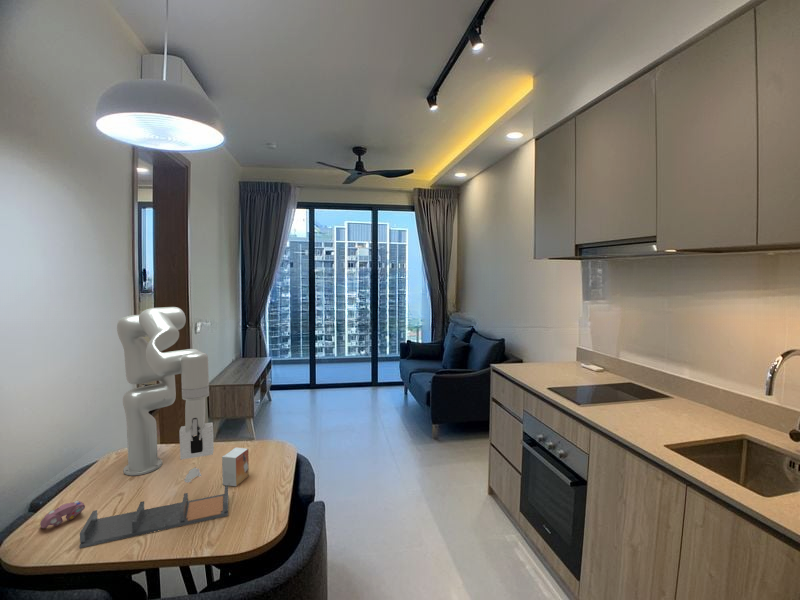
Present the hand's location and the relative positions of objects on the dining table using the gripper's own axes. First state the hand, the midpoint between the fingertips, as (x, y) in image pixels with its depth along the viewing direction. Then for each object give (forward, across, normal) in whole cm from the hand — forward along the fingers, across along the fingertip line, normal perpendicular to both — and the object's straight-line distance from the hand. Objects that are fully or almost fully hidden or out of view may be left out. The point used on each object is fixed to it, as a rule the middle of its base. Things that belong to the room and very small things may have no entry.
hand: (197, 448), depth 123 cm
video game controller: (+20, -9, -37) cm, 43 cm away
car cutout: (+20, -19, -7) cm, 29 cm away
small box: (+20, -15, +11) cm, 27 cm away
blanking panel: (+2, 0, 0) cm, 2 cm away
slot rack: (+20, +1, -10) cm, 22 cm away
